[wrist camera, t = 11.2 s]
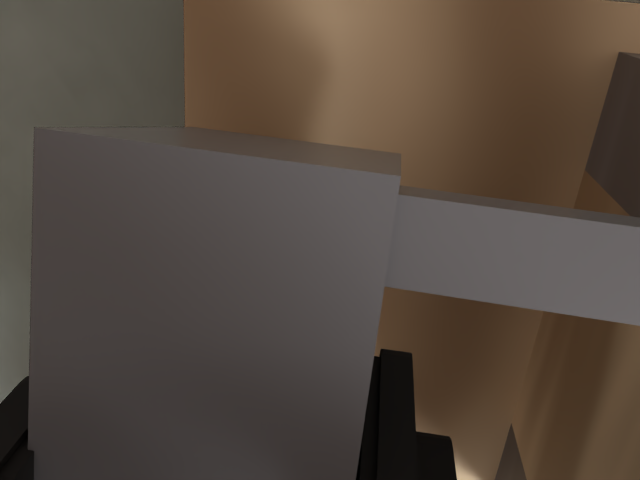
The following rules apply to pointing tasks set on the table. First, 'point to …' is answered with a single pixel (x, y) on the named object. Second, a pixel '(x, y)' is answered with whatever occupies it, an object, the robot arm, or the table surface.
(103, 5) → the table surface
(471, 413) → the stacked wooden blocks
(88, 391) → the grey bracket
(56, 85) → the table surface
